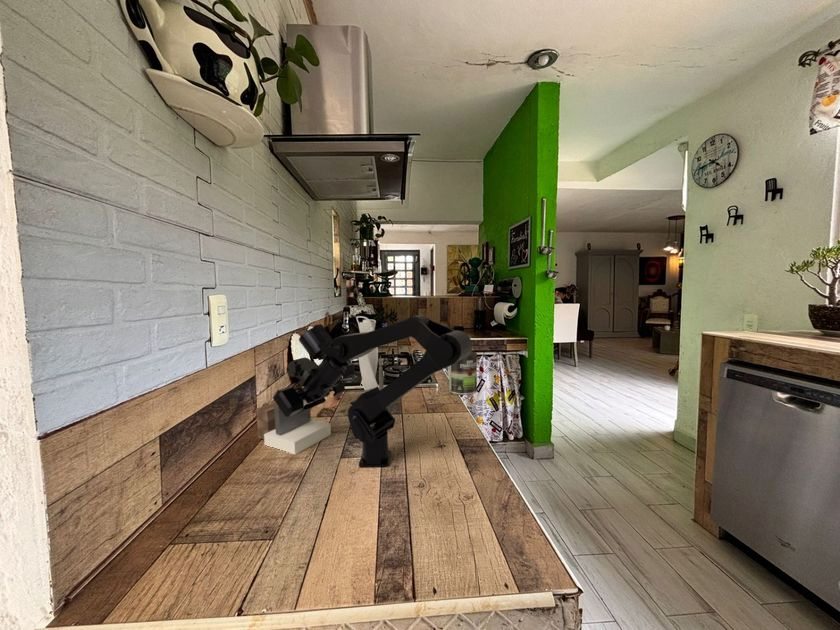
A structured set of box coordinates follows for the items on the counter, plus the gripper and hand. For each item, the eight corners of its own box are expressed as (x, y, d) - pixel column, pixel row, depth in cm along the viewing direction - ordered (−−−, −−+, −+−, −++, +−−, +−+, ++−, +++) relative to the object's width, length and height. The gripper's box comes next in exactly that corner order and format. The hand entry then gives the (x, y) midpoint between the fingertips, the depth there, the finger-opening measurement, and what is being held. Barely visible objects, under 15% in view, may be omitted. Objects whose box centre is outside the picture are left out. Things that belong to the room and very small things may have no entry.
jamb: (293, 430, 94) (292, 401, 94) (268, 441, 87) (267, 411, 87) (283, 427, 96) (281, 399, 96) (258, 438, 89) (256, 408, 89)
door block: (330, 434, 91) (330, 423, 91) (295, 454, 80) (294, 442, 80) (302, 427, 96) (301, 417, 96) (264, 445, 85) (264, 434, 85)
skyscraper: (364, 393, 126) (361, 317, 124) (355, 388, 133) (352, 315, 131) (384, 389, 131) (382, 315, 129) (375, 384, 138) (373, 314, 135)
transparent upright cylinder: (482, 392, 124) (482, 353, 123) (457, 396, 120) (457, 356, 118) (467, 385, 133) (467, 349, 132) (444, 389, 129) (443, 351, 128)
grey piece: (310, 420, 92) (309, 395, 92) (280, 435, 84) (278, 406, 83) (290, 416, 96) (289, 391, 95) (259, 429, 87) (257, 402, 87)
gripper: (334, 342, 92) (306, 378, 98) (276, 355, 76) (246, 398, 82) (359, 374, 89) (328, 409, 95) (304, 395, 73) (271, 436, 79)
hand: (296, 412), depth 88 cm, fingers closed, pressing on grey piece
